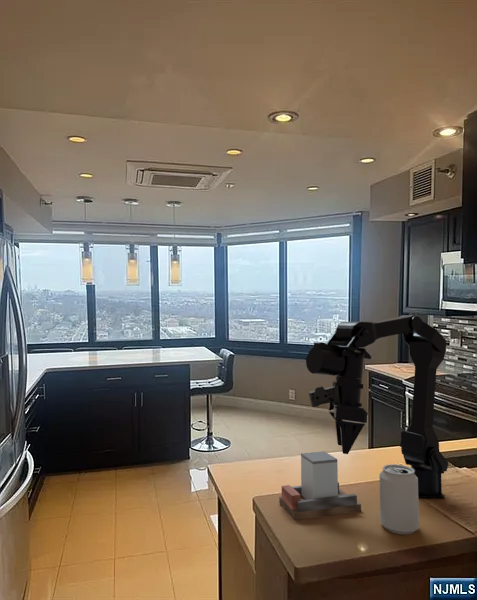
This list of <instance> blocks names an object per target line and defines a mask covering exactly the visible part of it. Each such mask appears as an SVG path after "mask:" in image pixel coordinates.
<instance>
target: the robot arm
mask: <svg viewBox="0 0 477 600" xmlns="http://www.w3.org/2000/svg"><path fill="white" fill-rule="evenodd" d="M400 334H401V337H402V341H403V342H404V343H406V346H408V347H409V348H408V350H409V357H410V359H411V361H412V363H413V364H414V365H413V366H414V375H413V376H414V379H413V389H412V390H413V391H412V402H411V403H412V404H411V419H410V425H409V426H408V428H406V430H402V431H401V432H400V438H401V439H400V444H399V447H400V451H401V455H403V459H404V464H405V465H406V466H407V465H408V466H410V468H412V469H413V470H414V474H415V475H416V476H417V478H418V498H423V499H424V498H426V499H429V498H430V499H434V498H435V499H446V498H445V494H443V491H442V485H443V484H442V475H443V474H445V472H447V471H448V467H449V461H448V460H447V459H446V458H445V456H444V455H443V454H442V453H441V451H440V439H439V438H438V435H437V434H436V432H435V430H434V428H433V427H434V413H435V411H434V410H435V399H436V396H435V395H436V383H437V382H436V381H437V369H438V367H440V365H441V364H442V363H443V360H444V359H445V356H446V350H447V341H446V340H447V339H446V338H445V337H444V336H443V334H441V333H440V332H439V331H438V330H437V329H436V328H435V327H433V326H431V325H430V324H428V323H426V322H425V321H424V320H422V318H421V317H420V316H418V315H415V314H411V315H410V314H407V315H406V314H405V315H400V316H397V317H392V318H386V319H381V320H375V321H341V322H339V323H338V324H337V327H336V329H335V331H334V332H333V334H332V335H331V336H330V338H329V339H328V340H327V342H321V341H314V342H313V347H312V348H311V349H310V350H309V352H308V354H307V356H306V357H305V365H306V368H307V371H309V372H310V373H311V374H312V375H313V374H314V375H324V376H331V377H333V376H335V379H334V381H332V385H331V386H328V387H324V386H322V385H321V386H316V387H315V388H314V389H313V390H310V391H308V398H309V401H310V404H311V407H312V408H316V407H320V406H321V405H324V404H328V407H327V409H328V414H329V415H330V416H331V417H332V418H333V420H334V423H335V432H336V439H337V441H336V444H337V445H338V446H341V451H342V454H343V455H348V454H349V453H350V451H351V449H352V448H353V446H354V444H355V442H356V440H357V439H358V437H359V435H360V433H361V432H362V430H363V428H364V427H365V426H366V423H368V411H366V409H364V408H363V407H362V406H363V403H362V402H361V399H362V398H361V397H362V390H363V389H364V384H363V373H364V362H365V360H371V359H372V356H371V354H370V353H369V351H367V349H366V347H368V346H371V345H372V344H374V343H375V342H376V341H377V340H378V339H382V338H386V337H391V336H396V335H400Z"/></svg>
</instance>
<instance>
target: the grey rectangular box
mask: <svg viewBox="0 0 477 600" xmlns="http://www.w3.org/2000/svg"><path fill="white" fill-rule="evenodd" d="M338 472H339V471H338V459H337V458H336V457H334V456H333V455H331V454H330V453H328V452H326V451H313V452H301V453H300V478H301V479H300V480H301V481H300V482H301V483H300V484H301V485H300V486H301V495H302V496H303V497H304V498H305V499H306V500H308V499H316V498H324V497H332V496H338V483H339V481H338V478H339V475H338Z"/></svg>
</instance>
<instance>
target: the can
mask: <svg viewBox="0 0 477 600" xmlns="http://www.w3.org/2000/svg"><path fill="white" fill-rule="evenodd" d="M379 513H380V514H379V515H380V516H379V517H380V518H379V519H380V520H379V521H380V524H381V525H382V526H383V527H384V528H385V529H386V530H387V531H389V532H391V533H394V534H399V535H412V534H414V533H415V532H416V531H417V530H419V528H420V515H419V513H420V512H419V497H418V478H417V476H416V475H415V474H414V470H413V469H412V468H411V466H409V465H408V466H407V465H404V464H403V465H402V464H398V463H397V464H394V463H393V464H392V463H391V464H385V465H383V466H382V470H381V472H379Z"/></svg>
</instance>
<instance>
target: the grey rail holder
mask: <svg viewBox="0 0 477 600" xmlns="http://www.w3.org/2000/svg"><path fill="white" fill-rule="evenodd" d="M278 503H280V504H281V505H282V506H283V507H284V508H283V507H282V506H281V505H280V504H279V505H280V506H281V507H282V508H283V509H284V510H285V511H286V513H288V514H289V515H290V516H291V518H292V517H293V518H294V519H293V518H292V519H293V520H294V521H297V520H298V521H299V520H305V519H312V518H320V517H328V516H335V515H341V514H349V513H355V512H356V513H357V512H361V511H362V503H360V502H359V501H358V495H357V494H355V493H351V494H348V493H346V492H345V491H344V490H342V489H340V483H339V482H338V496H332V497H324V498H316V499H308V500H306V499H305V498H304V497H303V496H302V495H301V485H296V486H291V485H290V484H287V485H281V496H279V497H278Z"/></svg>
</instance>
